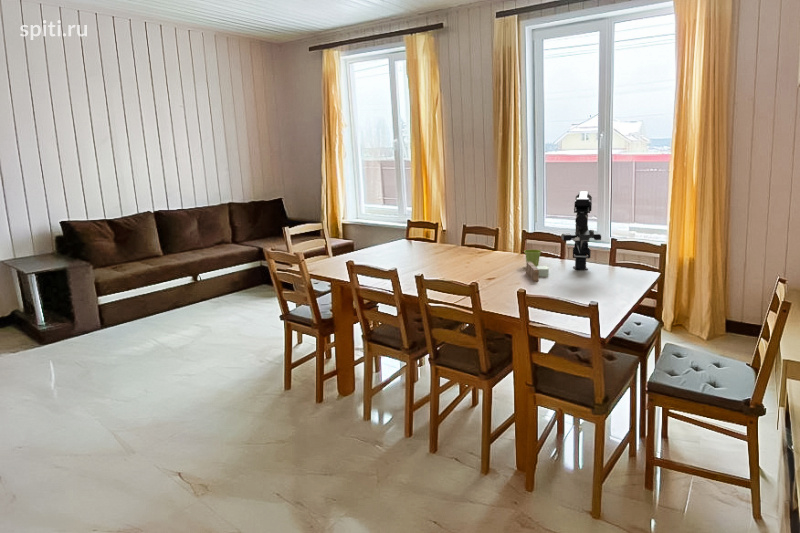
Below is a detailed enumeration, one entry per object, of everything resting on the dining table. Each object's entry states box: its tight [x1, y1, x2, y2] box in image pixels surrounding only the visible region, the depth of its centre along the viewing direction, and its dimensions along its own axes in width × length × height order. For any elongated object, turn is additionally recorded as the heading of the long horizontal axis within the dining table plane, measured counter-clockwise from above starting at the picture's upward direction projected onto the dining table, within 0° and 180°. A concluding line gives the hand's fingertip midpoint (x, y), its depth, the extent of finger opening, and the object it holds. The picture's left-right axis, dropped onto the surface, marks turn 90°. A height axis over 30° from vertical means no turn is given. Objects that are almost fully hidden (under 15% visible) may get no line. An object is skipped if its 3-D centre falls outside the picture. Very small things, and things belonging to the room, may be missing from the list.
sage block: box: [537, 265, 550, 278], centre depth 299 cm, size 7×6×4 cm
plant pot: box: [523, 249, 542, 267], centre depth 317 cm, size 9×9×9 cm
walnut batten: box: [526, 262, 540, 282], centre depth 295 cm, size 18×2×6 cm, turn 179°
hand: (580, 253), depth 292 cm, fingers closed
